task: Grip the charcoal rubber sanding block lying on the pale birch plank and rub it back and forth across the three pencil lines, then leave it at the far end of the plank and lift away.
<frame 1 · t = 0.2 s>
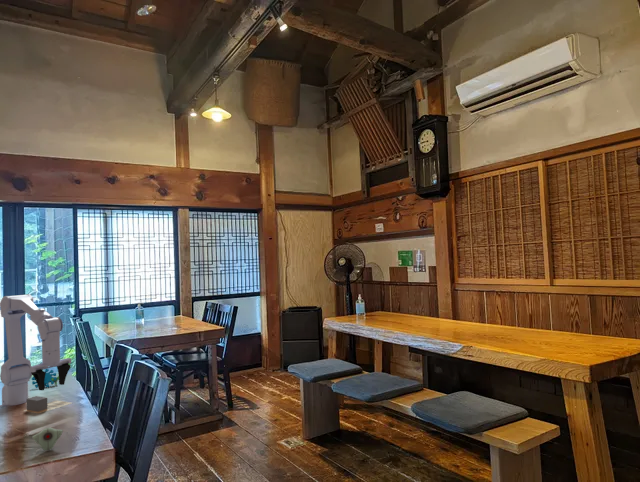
hand: (51, 387, 168), 10 cm above the table, tool pointing down, fingers open, 7 cm apart
robot head: (48, 451, 133), on the table
gear: (45, 387, 208), on the table
plank: (48, 409, 173), on the table
sanding block: (37, 410, 169), point 1 cm above the table, touching plank
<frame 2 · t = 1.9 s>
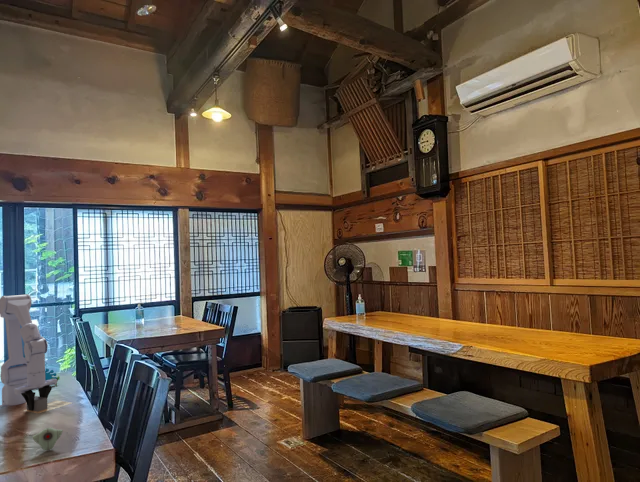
hand: (37, 408, 169), 2 cm above the table, tool pointing down, fingers closed on sanding block, 4 cm apart
sanding block: (37, 410, 169), point 1 cm above the table, touching gripper, plank
everything else where it was.
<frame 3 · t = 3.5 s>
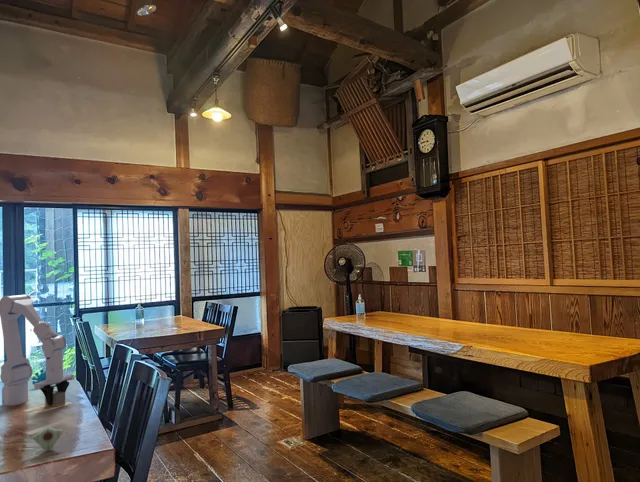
hand: (55, 402, 175), 2 cm above the table, tool pointing down, fingers closed on sanding block, 4 cm apart
sanding block: (55, 404, 175), point 1 cm above the table, touching gripper
everything else where it was.
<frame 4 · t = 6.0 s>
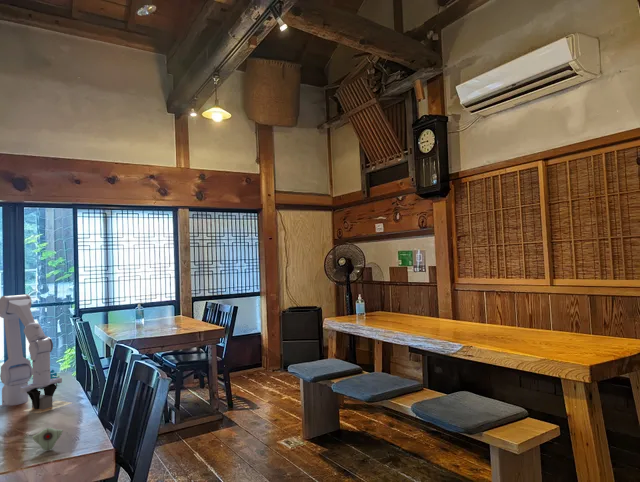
hand: (42, 407, 171), 2 cm above the table, tool pointing down, fingers closed on sanding block, 4 cm apart
sanding block: (42, 408, 171), point 1 cm above the table, touching gripper
everything else where it was.
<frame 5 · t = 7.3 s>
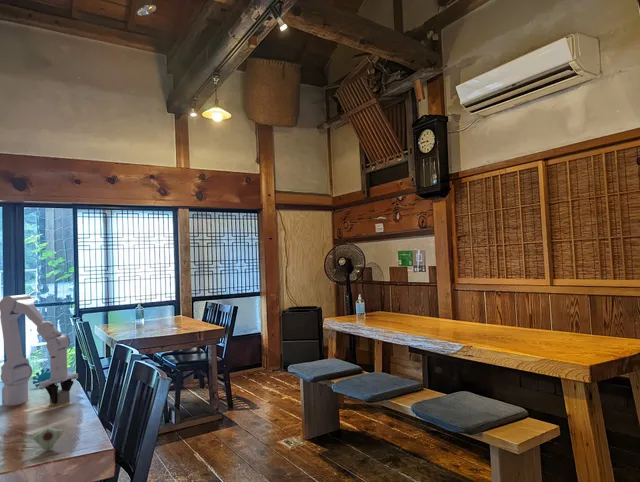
hand: (59, 401, 177), 2 cm above the table, tool pointing down, fingers closed on sanding block, 4 cm apart
sanding block: (59, 402, 177), point 1 cm above the table, touching gripper
everything else where it was.
when the fingers open (2 cm above the table, at t = 8.1 s): sanding block stays where it is, resting on plank.
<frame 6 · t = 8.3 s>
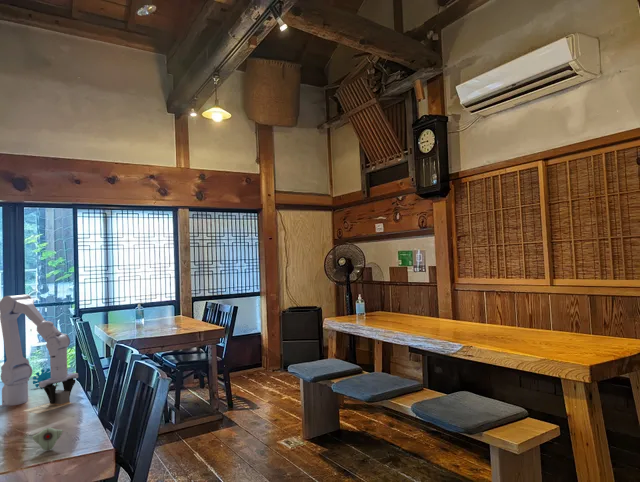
hand: (59, 401, 177), 2 cm above the table, tool pointing down, fingers open, 5 cm apart
sanding block: (59, 403, 177), point 1 cm above the table, touching plank
everything else where it was.
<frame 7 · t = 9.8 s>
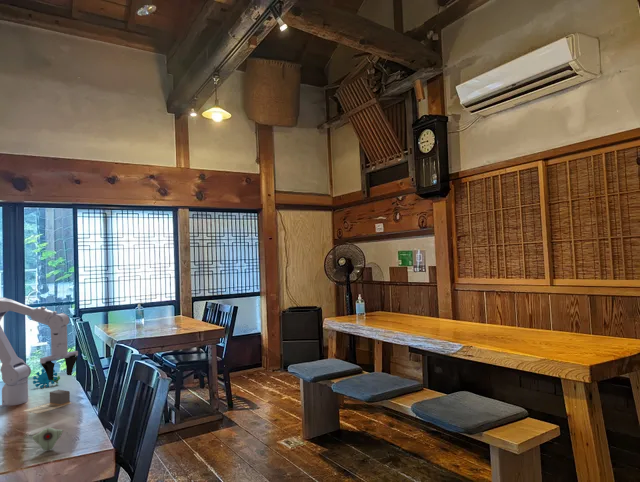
hand: (60, 377, 182), 10 cm above the table, tool pointing down, fingers open, 7 cm apart
nothing on the table moved.
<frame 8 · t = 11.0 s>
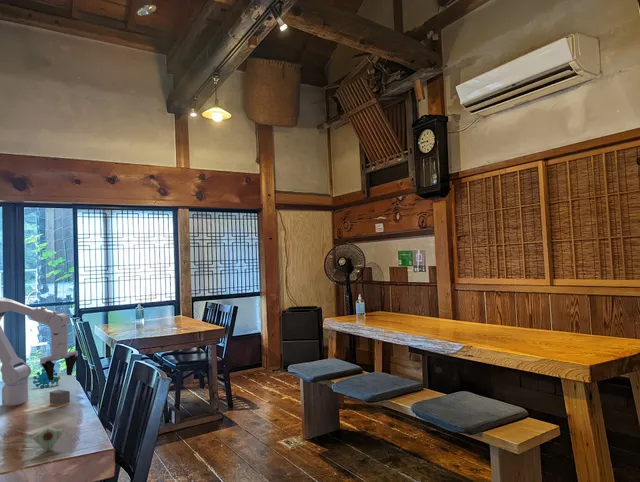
hand: (60, 377, 182), 10 cm above the table, tool pointing down, fingers open, 7 cm apart
at the end: sanding block 0.2 cm from the target spot, point 1.2 cm above the table; sanding block tilted 0°; the gripper is holding nothing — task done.
